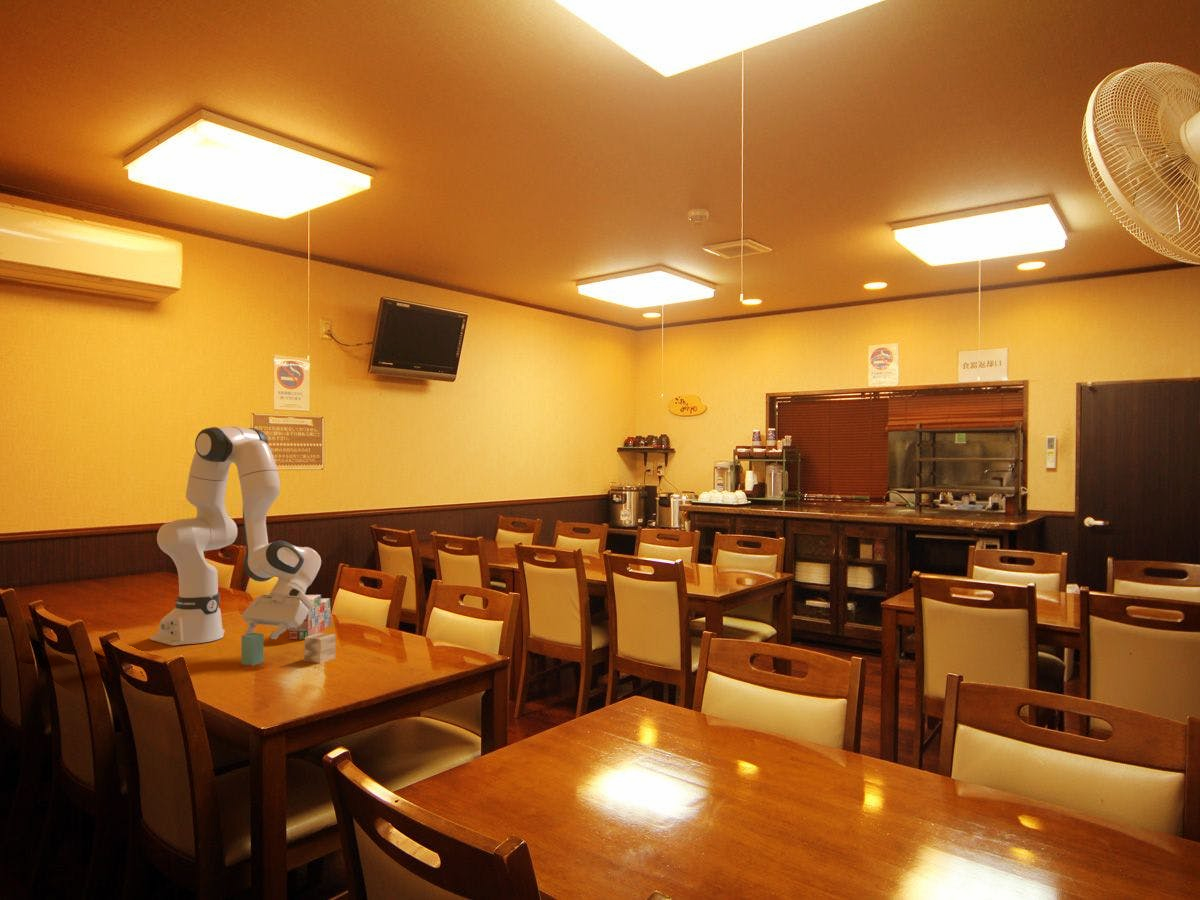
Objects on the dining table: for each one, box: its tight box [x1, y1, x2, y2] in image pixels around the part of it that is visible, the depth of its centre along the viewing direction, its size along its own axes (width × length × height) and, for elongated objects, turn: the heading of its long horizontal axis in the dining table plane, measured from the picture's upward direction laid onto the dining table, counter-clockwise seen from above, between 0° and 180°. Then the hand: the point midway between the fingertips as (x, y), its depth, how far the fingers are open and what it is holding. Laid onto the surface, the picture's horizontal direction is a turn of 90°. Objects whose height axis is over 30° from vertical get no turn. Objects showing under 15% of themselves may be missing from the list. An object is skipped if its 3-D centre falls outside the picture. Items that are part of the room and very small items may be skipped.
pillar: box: [241, 632, 264, 666], centre depth 214 cm, size 4×4×8 cm
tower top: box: [304, 632, 337, 652], centre depth 218 cm, size 6×6×4 cm
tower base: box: [303, 647, 336, 664], centre depth 218 cm, size 6×6×4 cm
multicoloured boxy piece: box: [288, 594, 332, 640], centre depth 251 cm, size 21×6×12 cm, turn 1°
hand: (260, 636), depth 217 cm, fingers open, 8 cm apart
